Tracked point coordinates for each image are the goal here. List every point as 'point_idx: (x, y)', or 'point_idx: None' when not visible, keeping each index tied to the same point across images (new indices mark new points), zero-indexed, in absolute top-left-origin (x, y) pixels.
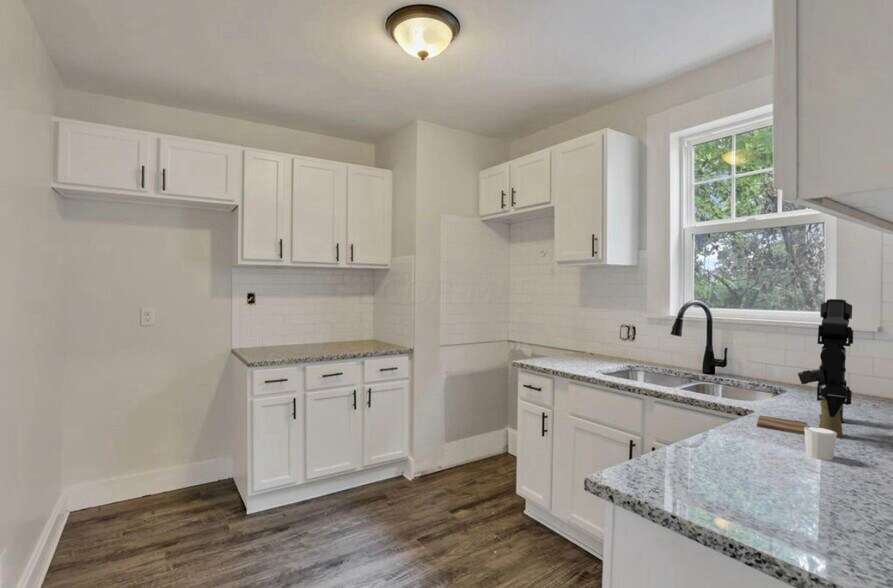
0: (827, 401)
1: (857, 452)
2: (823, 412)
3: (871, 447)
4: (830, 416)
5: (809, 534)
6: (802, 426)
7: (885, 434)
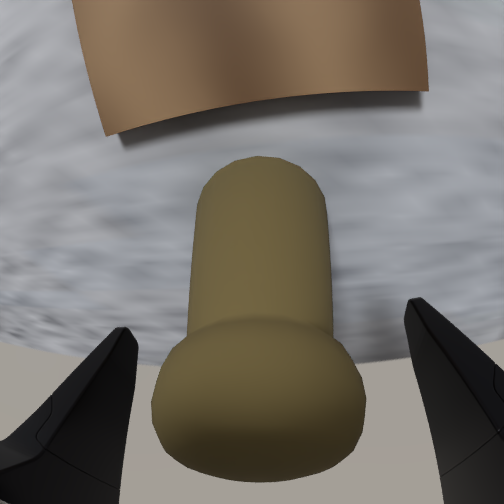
0: (19, 430)
1: (56, 312)
2: (205, 293)
3: (174, 344)
4: (116, 330)
5: None
6: (249, 67)
7: None
